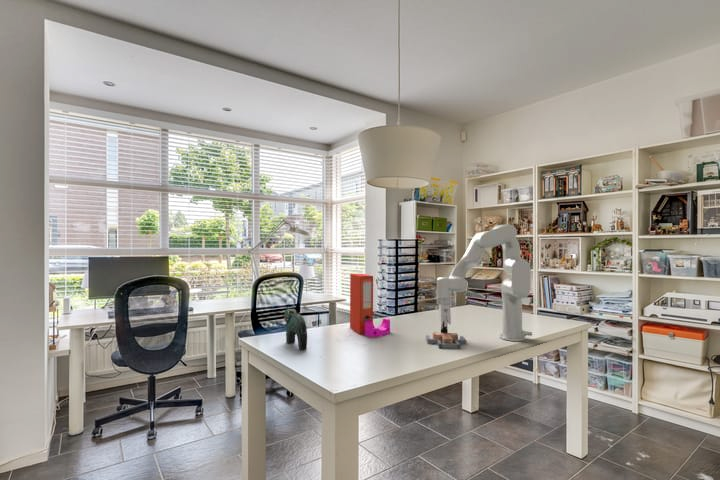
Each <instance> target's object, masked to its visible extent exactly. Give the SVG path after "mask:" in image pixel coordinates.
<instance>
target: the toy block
mask: <svg viewBox="0 0 720 480" xmlns="http://www.w3.org/2000/svg"><path fill="white" fill-rule="evenodd" d="M389 333H391V319H390V318H385V317H384V318H382V322H381V324H380V325H379V326H378V327H375V325H374V321H373V322H370V321H367V322H365V334H364V335H365V336H366V337H369V338H376V337H382V336H387V334H389ZM381 335H382V336H381Z"/></svg>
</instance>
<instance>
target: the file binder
mask: <svg viewBox="0 0 720 480" xmlns="http://www.w3.org/2000/svg"><path fill="white" fill-rule="evenodd" d="M349 278H350V279H349V280H350V281H349V282H350V283H349V284H350V285H349V286H350V287H349V289H350V290H349V302H350V303H349V328H350V329H351V330H353V331H354V332H356V333H357V335H362V334H363V335H365V322H367V321H370V322H373V323H374V276H373V275H370V274H365V273H350V275H349Z"/></svg>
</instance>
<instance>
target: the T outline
mask: <svg viewBox="0 0 720 480" xmlns="http://www.w3.org/2000/svg"><path fill="white" fill-rule="evenodd" d="M425 340H426V344H429V345H430V344H432V345H436V346H437V347H438V349H444V350H445V349H449V350H452V349H454V350H455V349H457V350H459V349H461V345H467V339H466V338H465V336H463V335H459V338H458V339H454V343H453V344H448V343H441V341H440V339H433V338H431V337H430V336H429V335H428V334H426V335H425Z"/></svg>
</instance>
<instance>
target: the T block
mask: <svg viewBox="0 0 720 480" xmlns="http://www.w3.org/2000/svg"><path fill="white" fill-rule="evenodd" d="M432 339H440V341H441V343H448V344H454V339H459V335H458V333H457V332H456V333H455V332H448V333H441V332H432Z"/></svg>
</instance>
